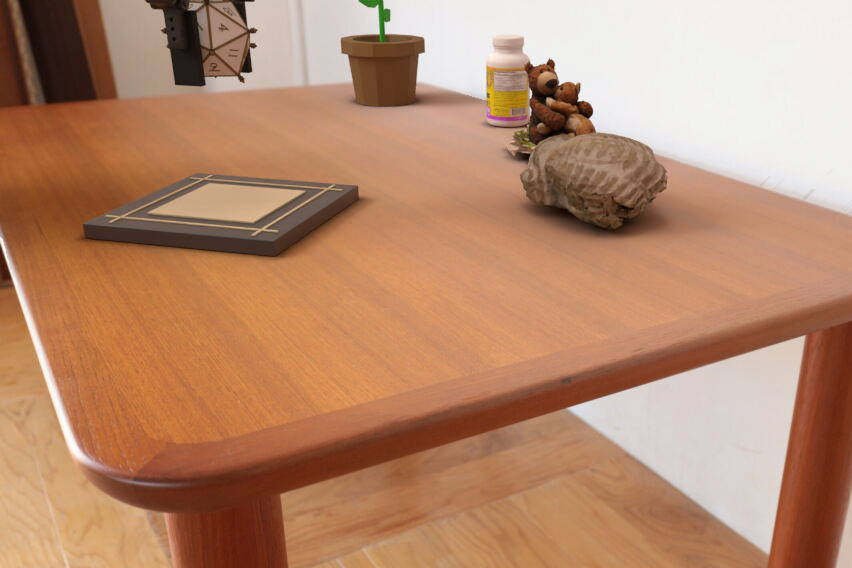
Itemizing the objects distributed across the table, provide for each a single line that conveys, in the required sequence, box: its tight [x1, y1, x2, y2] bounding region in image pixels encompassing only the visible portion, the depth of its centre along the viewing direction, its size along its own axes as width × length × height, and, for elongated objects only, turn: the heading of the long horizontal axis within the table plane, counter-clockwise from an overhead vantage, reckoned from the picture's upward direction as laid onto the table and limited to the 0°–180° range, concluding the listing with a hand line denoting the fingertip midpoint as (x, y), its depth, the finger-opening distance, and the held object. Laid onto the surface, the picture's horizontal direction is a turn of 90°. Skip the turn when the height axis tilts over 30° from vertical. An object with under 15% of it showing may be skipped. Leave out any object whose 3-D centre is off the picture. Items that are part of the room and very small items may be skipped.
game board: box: [82, 172, 360, 257], centre depth 93 cm, size 20×20×2 cm
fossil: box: [519, 132, 669, 231], centre depth 94 cm, size 18×13×10 cm
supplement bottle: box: [485, 34, 531, 128], centre depth 135 cm, size 7×7×13 cm
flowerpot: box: [340, 0, 426, 107], centre depth 148 cm, size 14×14×30 cm
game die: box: [160, 0, 258, 84], centre depth 85 cm, size 9×8×10 cm
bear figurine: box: [505, 57, 597, 157], centre depth 116 cm, size 14×15×12 cm
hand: (215, 78), depth 86 cm, fingers closed on game die, 8 cm apart
